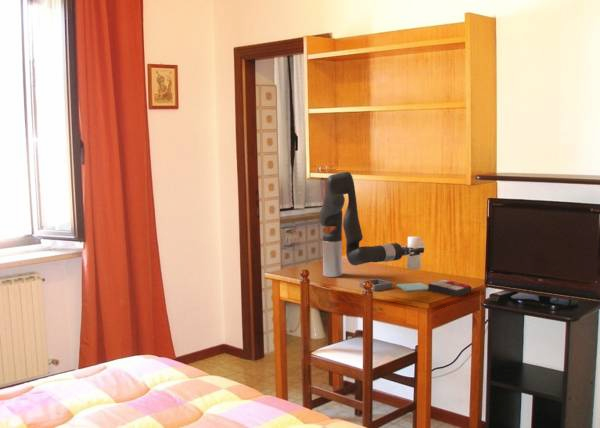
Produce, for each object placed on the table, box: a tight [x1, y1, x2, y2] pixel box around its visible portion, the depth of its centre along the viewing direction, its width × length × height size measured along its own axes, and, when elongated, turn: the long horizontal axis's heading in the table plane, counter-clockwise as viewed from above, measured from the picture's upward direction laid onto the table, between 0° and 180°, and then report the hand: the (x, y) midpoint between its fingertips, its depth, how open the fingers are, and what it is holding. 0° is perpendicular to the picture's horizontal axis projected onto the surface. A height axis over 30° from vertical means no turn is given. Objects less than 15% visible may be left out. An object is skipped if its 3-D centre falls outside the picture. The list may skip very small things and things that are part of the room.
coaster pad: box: [395, 282, 428, 292], centre depth 307 cm, size 12×12×1 cm
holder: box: [359, 278, 394, 292], centre depth 308 cm, size 10×10×2 cm
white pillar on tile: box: [406, 235, 425, 271], centre depth 305 cm, size 8×6×14 cm
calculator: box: [427, 279, 472, 298], centre depth 298 cm, size 11×4×15 cm
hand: (418, 248), depth 306 cm, fingers closed on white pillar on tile, 6 cm apart
